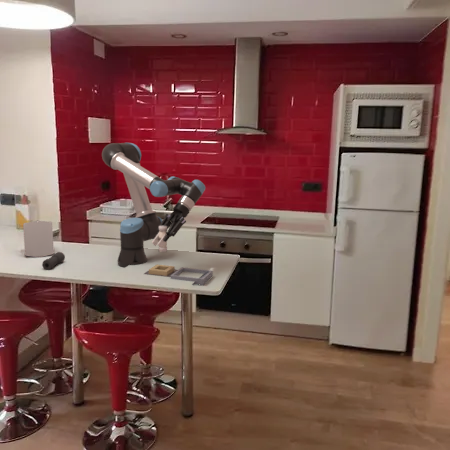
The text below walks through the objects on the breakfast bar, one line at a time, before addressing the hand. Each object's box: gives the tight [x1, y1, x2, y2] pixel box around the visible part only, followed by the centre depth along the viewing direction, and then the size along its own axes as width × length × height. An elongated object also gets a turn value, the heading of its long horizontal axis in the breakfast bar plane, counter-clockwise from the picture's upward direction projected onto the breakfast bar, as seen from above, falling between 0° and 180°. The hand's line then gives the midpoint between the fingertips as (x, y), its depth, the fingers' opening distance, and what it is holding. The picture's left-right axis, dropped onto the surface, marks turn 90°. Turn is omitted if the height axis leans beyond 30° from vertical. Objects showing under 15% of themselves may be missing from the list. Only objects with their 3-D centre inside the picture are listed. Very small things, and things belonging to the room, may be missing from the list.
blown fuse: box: [158, 225, 168, 253], centre depth 224 cm, size 4×4×12 cm
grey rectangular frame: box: [170, 267, 214, 286], centre depth 222 cm, size 16×14×3 cm
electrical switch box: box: [22, 220, 55, 258], centre depth 259 cm, size 14×15×20 cm
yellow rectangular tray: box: [143, 264, 178, 278], centre depth 227 cm, size 14×12×4 cm
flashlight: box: [42, 251, 66, 271], centre depth 238 cm, size 15×5×5 cm, turn 175°
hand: (156, 245), depth 221 cm, fingers closed on blown fuse, 4 cm apart
